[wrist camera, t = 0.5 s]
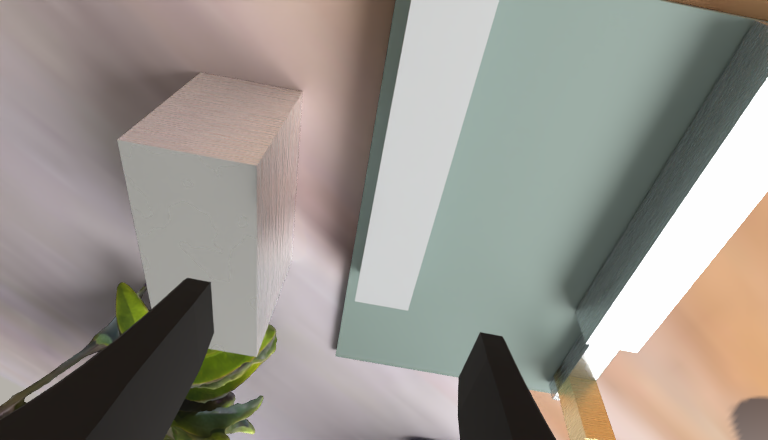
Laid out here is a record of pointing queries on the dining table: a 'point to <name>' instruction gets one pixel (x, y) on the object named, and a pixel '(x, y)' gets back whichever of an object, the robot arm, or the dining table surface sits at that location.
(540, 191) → the vise base
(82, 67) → the dining table surface
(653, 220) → the block
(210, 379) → the green leafy plant
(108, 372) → the robot arm
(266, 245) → the steel block
